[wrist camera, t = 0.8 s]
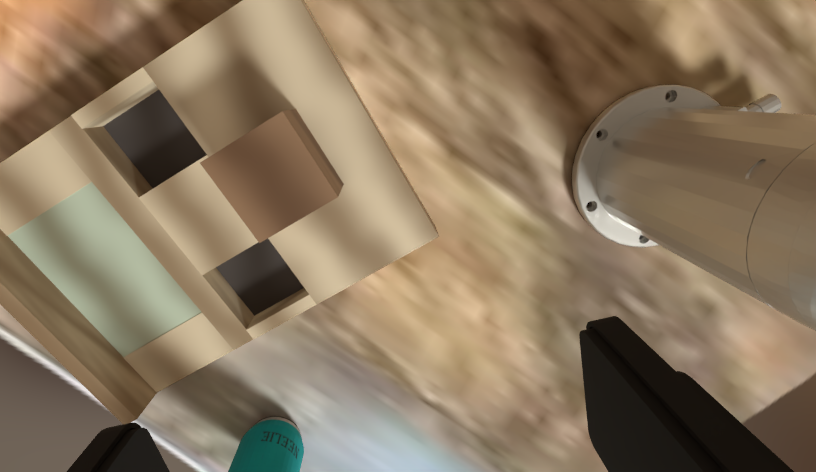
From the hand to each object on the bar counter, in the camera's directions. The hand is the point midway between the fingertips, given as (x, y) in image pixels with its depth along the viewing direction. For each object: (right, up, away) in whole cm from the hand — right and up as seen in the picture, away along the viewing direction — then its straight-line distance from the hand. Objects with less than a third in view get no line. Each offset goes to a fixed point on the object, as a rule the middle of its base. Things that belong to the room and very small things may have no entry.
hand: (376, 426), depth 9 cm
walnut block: (-8, +9, +21) cm, 24 cm away
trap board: (-14, +6, +24) cm, 29 cm away
